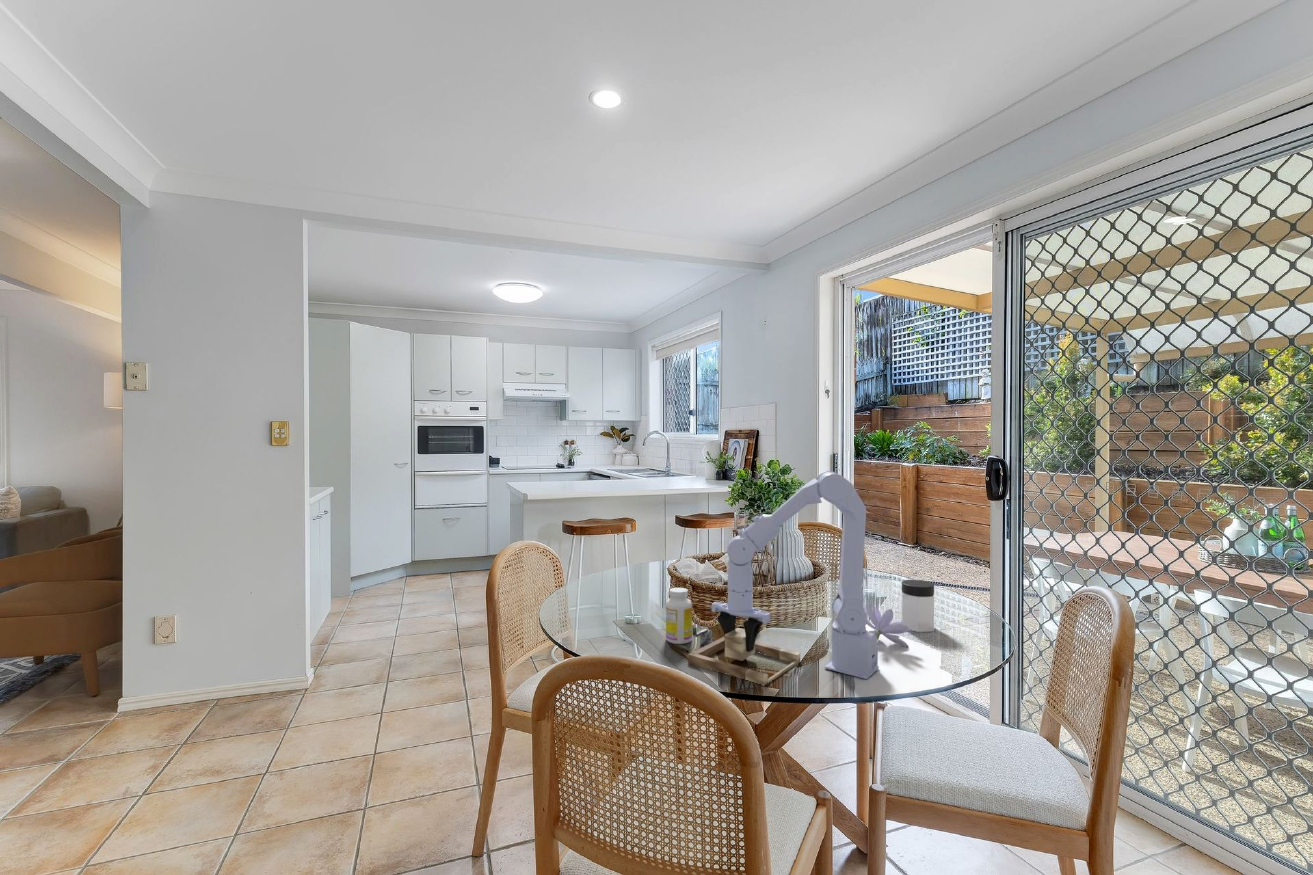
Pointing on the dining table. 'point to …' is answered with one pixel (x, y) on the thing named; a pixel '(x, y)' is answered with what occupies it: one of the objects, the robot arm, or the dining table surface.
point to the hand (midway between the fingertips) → (740, 647)
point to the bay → (703, 660)
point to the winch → (703, 636)
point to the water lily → (886, 625)
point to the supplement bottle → (678, 617)
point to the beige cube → (737, 645)
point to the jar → (918, 605)
